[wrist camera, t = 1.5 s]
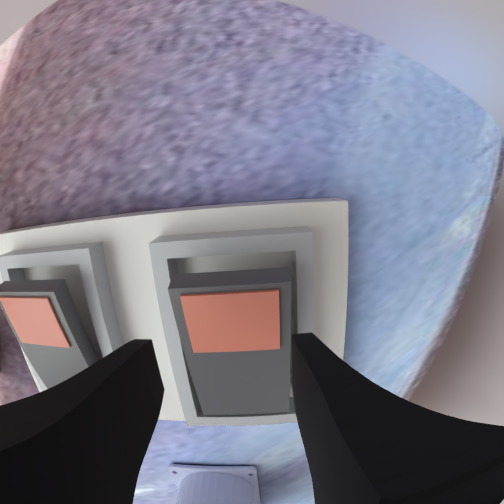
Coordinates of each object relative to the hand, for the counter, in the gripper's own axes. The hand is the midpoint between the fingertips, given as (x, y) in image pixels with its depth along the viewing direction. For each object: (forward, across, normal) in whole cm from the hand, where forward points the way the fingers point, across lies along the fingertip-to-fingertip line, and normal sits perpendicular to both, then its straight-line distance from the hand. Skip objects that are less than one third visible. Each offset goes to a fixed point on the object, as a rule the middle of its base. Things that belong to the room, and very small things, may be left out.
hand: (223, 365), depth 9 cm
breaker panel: (+9, +6, +3) cm, 11 cm away
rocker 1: (+5, +11, +3) cm, 13 cm away
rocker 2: (+5, 0, +3) cm, 6 cm away
